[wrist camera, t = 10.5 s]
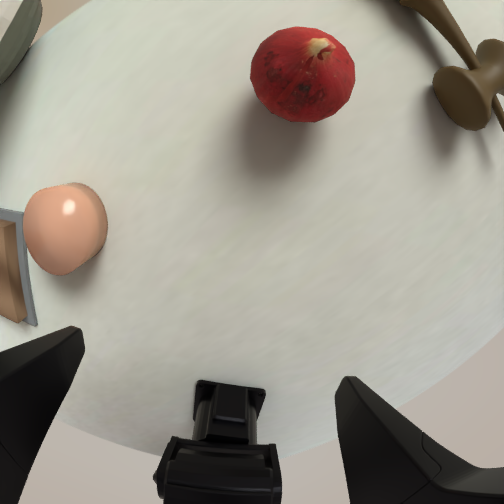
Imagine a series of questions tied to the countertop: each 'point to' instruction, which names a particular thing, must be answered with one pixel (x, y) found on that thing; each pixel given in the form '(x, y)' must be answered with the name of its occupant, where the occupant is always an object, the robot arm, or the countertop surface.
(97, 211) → the peach rounded knob
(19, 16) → the bowl
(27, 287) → the mat
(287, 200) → the countertop surface
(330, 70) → the onion
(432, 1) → the kendama
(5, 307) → the cover
